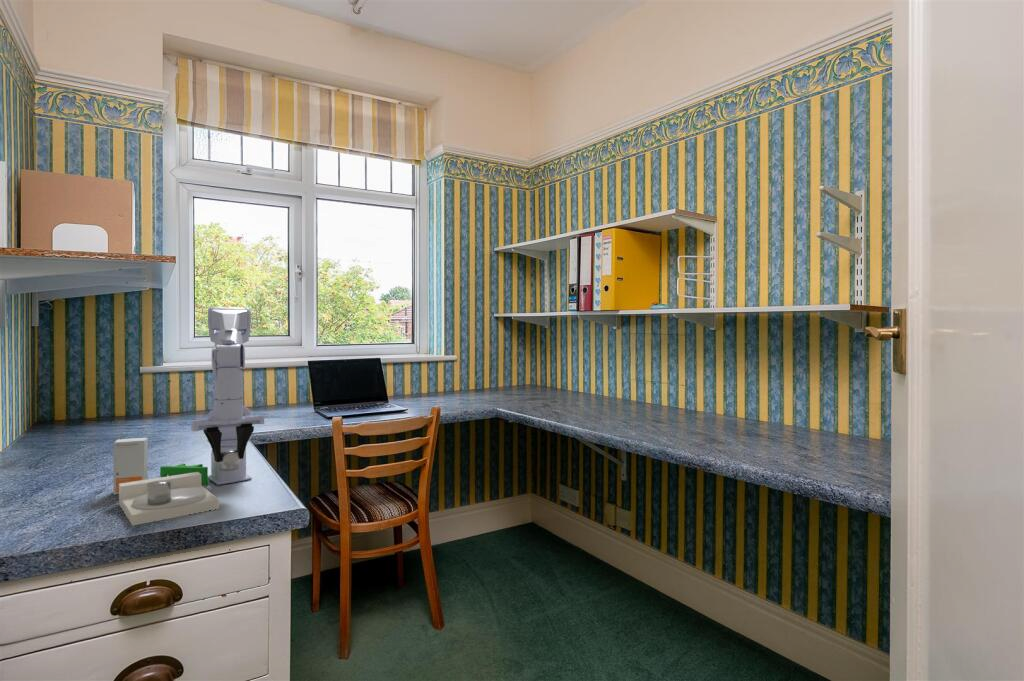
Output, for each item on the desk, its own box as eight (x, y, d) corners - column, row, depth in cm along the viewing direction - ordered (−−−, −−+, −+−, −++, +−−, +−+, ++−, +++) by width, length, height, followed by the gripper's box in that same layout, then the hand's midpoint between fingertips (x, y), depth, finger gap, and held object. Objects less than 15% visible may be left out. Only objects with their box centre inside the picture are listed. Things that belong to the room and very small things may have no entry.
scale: (119, 504, 118) (118, 483, 118) (198, 491, 128) (197, 471, 128) (132, 525, 106) (132, 502, 106) (218, 509, 116) (218, 487, 116)
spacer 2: (217, 469, 124) (216, 451, 124) (236, 466, 127) (236, 448, 127) (222, 472, 121) (222, 454, 121) (242, 469, 124) (241, 451, 124)
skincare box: (112, 495, 125) (112, 442, 125) (117, 490, 129) (117, 438, 129) (144, 492, 127) (144, 440, 127) (148, 487, 131) (148, 437, 131)
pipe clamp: (214, 482, 137) (214, 464, 136) (204, 487, 133) (204, 468, 133) (170, 481, 137) (170, 462, 137) (160, 485, 134) (160, 466, 134)
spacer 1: (145, 502, 112) (145, 482, 112) (168, 498, 114) (168, 478, 114) (149, 507, 109) (149, 486, 109) (173, 502, 112) (172, 482, 111)
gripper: (197, 403, 116) (197, 468, 116) (268, 397, 126) (269, 457, 126) (188, 400, 121) (188, 462, 121) (258, 394, 131) (258, 452, 131)
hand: (229, 459), depth 124 cm, fingers closed on spacer 2, 4 cm apart
